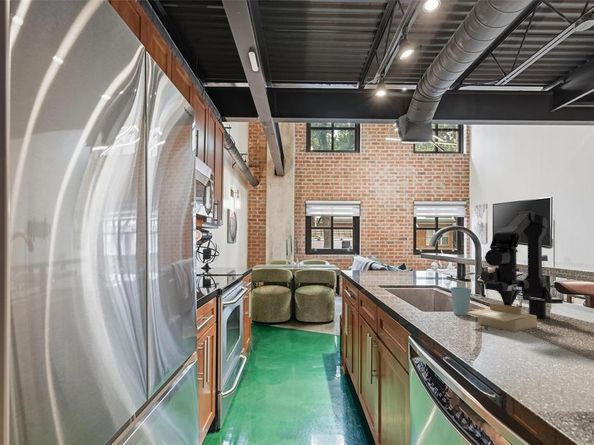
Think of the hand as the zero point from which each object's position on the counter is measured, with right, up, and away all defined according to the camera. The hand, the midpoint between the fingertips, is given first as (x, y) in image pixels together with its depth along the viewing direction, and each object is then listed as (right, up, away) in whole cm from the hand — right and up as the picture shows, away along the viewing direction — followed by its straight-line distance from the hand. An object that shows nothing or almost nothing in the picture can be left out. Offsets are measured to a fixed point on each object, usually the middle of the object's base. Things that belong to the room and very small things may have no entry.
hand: (507, 309), depth 126 cm
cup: (-8, -7, +18) cm, 21 cm away
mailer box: (-1, -6, -1) cm, 6 cm away
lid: (-6, -1, -4) cm, 7 cm away
